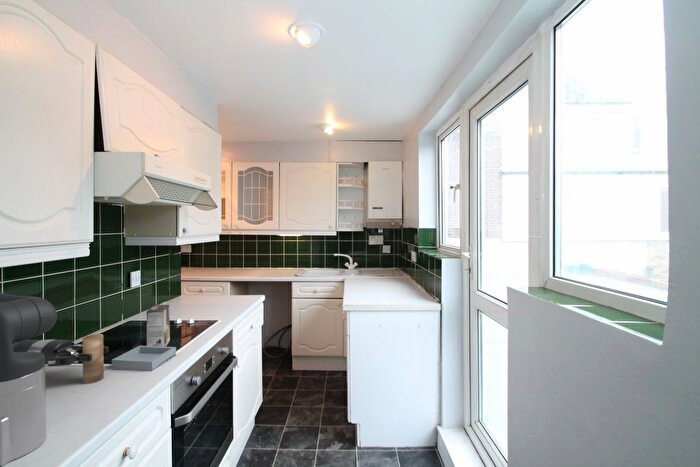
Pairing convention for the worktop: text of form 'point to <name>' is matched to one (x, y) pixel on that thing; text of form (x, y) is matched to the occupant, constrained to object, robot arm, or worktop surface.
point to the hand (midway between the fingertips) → (99, 353)
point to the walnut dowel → (93, 359)
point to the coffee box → (158, 326)
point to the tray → (144, 358)
